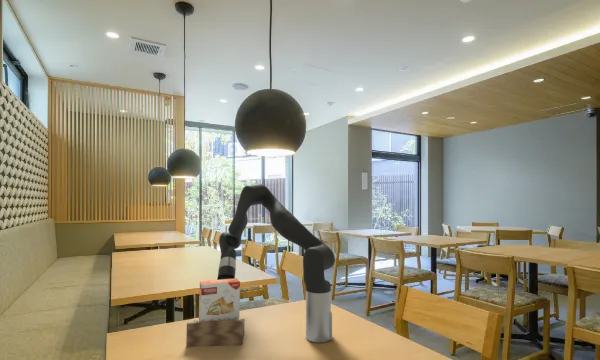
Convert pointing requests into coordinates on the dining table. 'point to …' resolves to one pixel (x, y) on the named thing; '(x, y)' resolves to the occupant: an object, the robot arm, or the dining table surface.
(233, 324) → the walnut rack
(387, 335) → the dining table surface
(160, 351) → the dining table surface
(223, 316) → the cracker box
